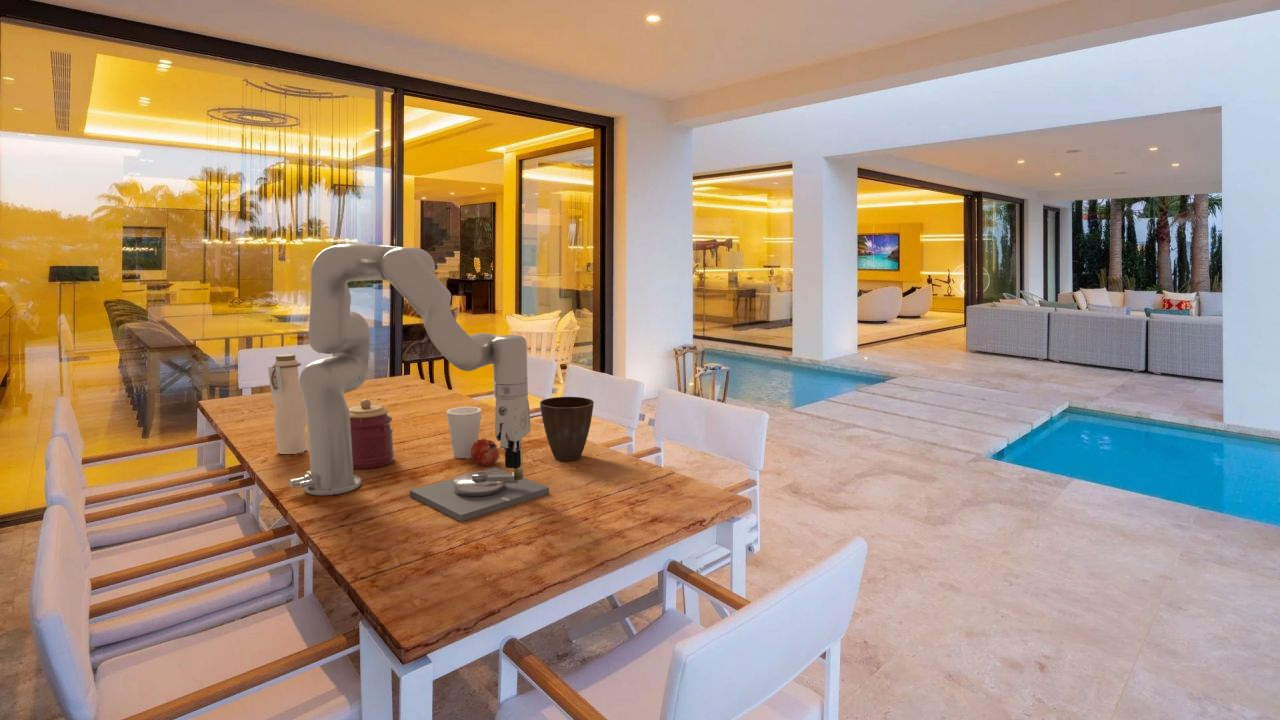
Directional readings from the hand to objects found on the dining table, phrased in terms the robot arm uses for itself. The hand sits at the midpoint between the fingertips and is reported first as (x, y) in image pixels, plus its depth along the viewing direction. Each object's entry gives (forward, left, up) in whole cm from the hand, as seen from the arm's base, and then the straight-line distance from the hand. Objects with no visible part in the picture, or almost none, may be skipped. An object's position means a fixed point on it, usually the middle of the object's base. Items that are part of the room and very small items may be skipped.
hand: (513, 467), depth 157 cm
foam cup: (+11, +38, -8) cm, 40 cm away
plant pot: (+30, +16, -8) cm, 35 cm away
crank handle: (-2, +7, -6) cm, 9 cm away
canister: (-11, +51, -8) cm, 53 cm away
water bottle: (-22, +76, -8) cm, 79 cm away
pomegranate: (+10, +27, -8) cm, 30 cm away
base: (-4, +8, -8) cm, 12 cm away
